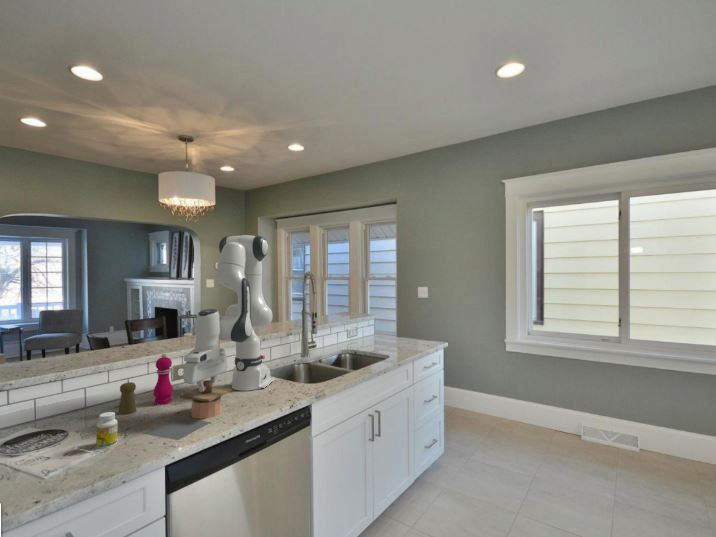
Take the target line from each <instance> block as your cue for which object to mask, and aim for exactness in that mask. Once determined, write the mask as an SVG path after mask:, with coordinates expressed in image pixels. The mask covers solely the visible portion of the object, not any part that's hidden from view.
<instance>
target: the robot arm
mask: <svg viewBox="0 0 716 537" xmlns="http://www.w3.org/2000/svg"><path fill="white" fill-rule="evenodd" d="M218 250H219V253H220V255H219V258H218V262H217V267H216V272H215V274H216V279H217V281H218V283H219V284H220V285H221V286H223V287H225V288H226V289H229V290H230V291H233V292H235V294H236V295H237V303H235V304H230V305H229V306H228V307H227V308H226V310H225V313H224V316H223V315H221V314H220V313H219V311H218V310H217V309H213V308H212V309H211V308H210V309H209V308H208V309H203V310H200V311H199V312H197V315H196V318H195V325H194V326H195V327H194V336H195V343H194V348H193V349H192V350H191V351H190V352H188V353H187V354H185V355H184V357H183V360H184V362H185V363H184V365H183V376H182V377H183V379H182V380H183V382H184V383H185V384H189V385H193V384H196V385H197V386H198V388H199V391H200V392H203V391H205V390H206V389H205V388H206V386H204V385H203V383H204V381H205V380H207V379H209V380H211V381H212V388H213V387H215V383H216V380H217V378H218V375H221V374H222V373H225V372H227V370H228V366H229V365H228V356H227V351H226V350H225V349H224V348H221V343H220V341H226V342H233V343H234V342H235V356H234V365H235V366H234V367H233V371H232V378H231V379H232V380H231V382H230V384H229V385H230V386H231V385H232V386H231V389H232V388H233V389H232V390H236V391H240V392H241V391H243V392H244V391H255V390H261V388H264V389H266V388H267V387H268V386H270V385H271V384H272V383H273V382H275V381H276V378H275V377H273V376H271V370H270V367H268V366H267V365H266V364H264V363H263V360H266V355H265V354H261V339H260V337H259V336H258V335H257V333H256V332H255V330H254V329H262V328H266V327H269V326H270V325H271V323H272V321H273V311H272V309H271V308H270V307H269V306H268V304H267V303H266V301H265V298H264V295H263V262H262V261H263V259H264V258H265V257H266V256H267V255H268V251H269V243H268V240H267V239H266V237H264V236H261V235H251V234H250V235H249V234H242V235H226V236H223V238H221V239H220V241H219V243H218ZM274 380H275V381H274ZM272 381H273V382H272ZM271 382H272V383H271ZM270 383H271V384H270ZM269 384H270V385H269ZM267 385H268V386H267ZM266 386H267V387H266ZM265 387H266V388H265Z"/></svg>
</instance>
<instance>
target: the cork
mask: <svg viewBox="0 0 716 537" xmlns="http://www.w3.org/2000/svg"><path fill="white" fill-rule="evenodd" d="M136 386H137V385H136V383H134V382H132V381H131V382H124V383H122V384H121V385H120V386H119V392H120V393H121V394H120V401H119V405H118V413H117V414H118V415H121V416H125V415H131V414H135V413H136V412H137V403H136V396H135V391H136V389H137V387H136Z"/></svg>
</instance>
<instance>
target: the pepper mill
mask: <svg viewBox="0 0 716 537" xmlns="http://www.w3.org/2000/svg"><path fill="white" fill-rule="evenodd" d="M172 365H173V361H172V359H171V358H170V357H167V353H162V354H161V357H159V358H158V359H157V360H156V361H155V368H156V375H157V380H156V384H155V386H154V389H153V392H152V394H153V396H154V397H155V398H154V404H155V405H157V404H160V405H159V406H162V405H161V404H163V405H166V404H167V405H168V404H169V403H171V402H172V401H173V400H172V396H171V395H172V394H173V392H174V387H173V385H172V383H171V380H170V373H171V367H172Z"/></svg>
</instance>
